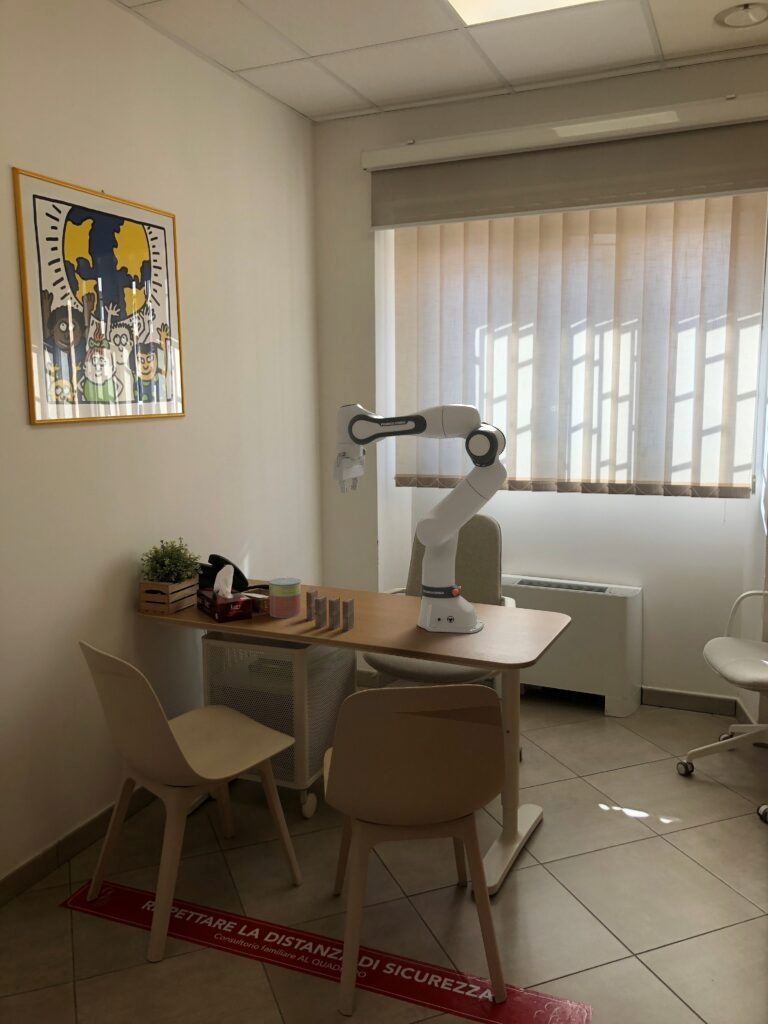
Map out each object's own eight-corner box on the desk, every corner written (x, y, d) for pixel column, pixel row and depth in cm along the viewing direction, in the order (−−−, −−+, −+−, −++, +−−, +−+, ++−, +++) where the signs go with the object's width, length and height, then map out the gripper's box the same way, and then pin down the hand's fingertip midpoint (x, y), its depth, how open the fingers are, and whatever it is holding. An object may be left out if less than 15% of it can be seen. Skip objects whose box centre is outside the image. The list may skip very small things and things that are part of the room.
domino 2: (326, 624, 294) (326, 596, 293) (320, 628, 289) (320, 599, 288) (321, 624, 295) (321, 595, 293) (315, 627, 290) (314, 598, 289)
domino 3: (340, 625, 292) (339, 597, 291) (334, 629, 288) (334, 600, 286) (334, 625, 293) (334, 596, 292) (328, 629, 288) (328, 600, 287)
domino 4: (353, 627, 291) (353, 598, 289) (348, 631, 286) (348, 601, 285) (348, 626, 291) (348, 597, 290) (342, 630, 287) (342, 601, 285)
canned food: (303, 610, 314) (303, 578, 312) (297, 618, 303) (297, 584, 301) (273, 609, 315) (272, 577, 313) (266, 617, 304) (265, 584, 302)
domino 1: (318, 617, 304) (317, 589, 303) (312, 620, 299) (311, 592, 298) (312, 616, 305) (312, 589, 303) (306, 620, 300) (306, 592, 299)
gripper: (345, 453, 285) (345, 495, 287) (368, 450, 304) (368, 488, 306) (328, 453, 287) (328, 494, 289) (351, 449, 306) (351, 488, 308)
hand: (349, 491), depth 298 cm, fingers open, 8 cm apart
